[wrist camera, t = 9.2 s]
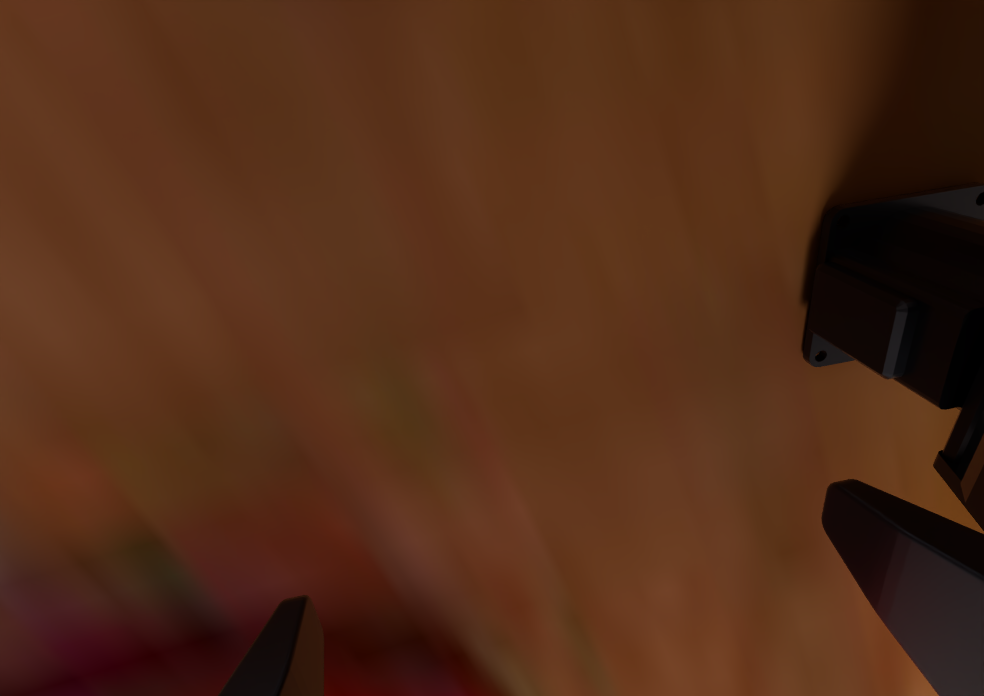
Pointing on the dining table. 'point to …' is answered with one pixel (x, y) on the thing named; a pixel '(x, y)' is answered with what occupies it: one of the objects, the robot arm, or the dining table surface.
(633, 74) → the dining table surface
